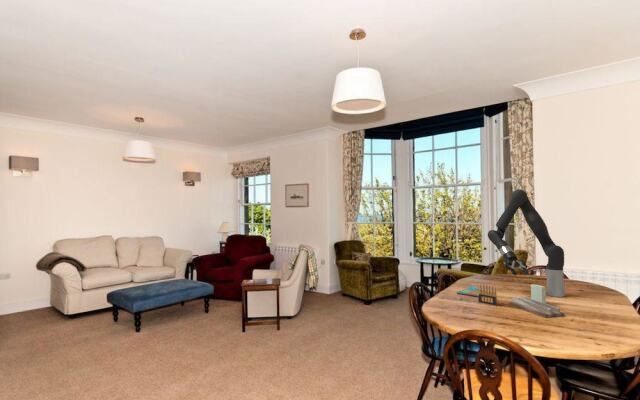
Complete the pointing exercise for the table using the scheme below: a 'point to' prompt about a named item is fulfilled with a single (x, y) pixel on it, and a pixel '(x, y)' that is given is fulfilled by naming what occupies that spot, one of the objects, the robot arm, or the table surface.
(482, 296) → the ammunition clip
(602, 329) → the table surface
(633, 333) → the table surface
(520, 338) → the table surface
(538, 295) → the door panel
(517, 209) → the robot arm
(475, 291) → the dish towel
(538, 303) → the board
